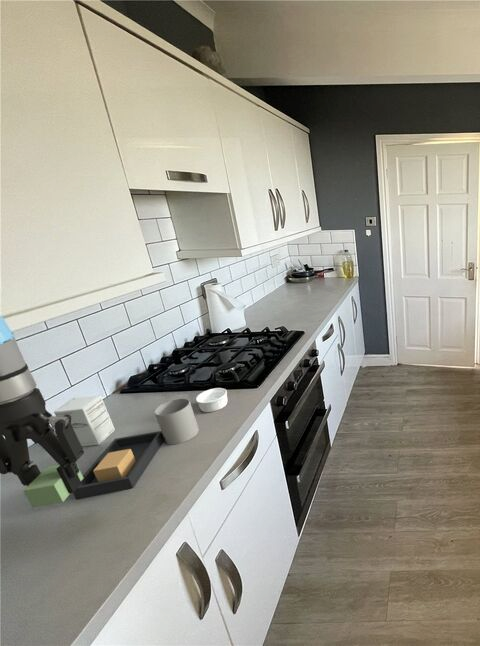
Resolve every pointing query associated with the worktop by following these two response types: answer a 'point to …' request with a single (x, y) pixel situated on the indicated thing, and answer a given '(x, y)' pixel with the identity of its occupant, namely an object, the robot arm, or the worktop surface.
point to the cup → (176, 421)
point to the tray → (143, 454)
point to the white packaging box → (88, 419)
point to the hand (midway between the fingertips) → (58, 490)
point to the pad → (47, 488)
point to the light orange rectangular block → (115, 465)
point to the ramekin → (212, 399)
